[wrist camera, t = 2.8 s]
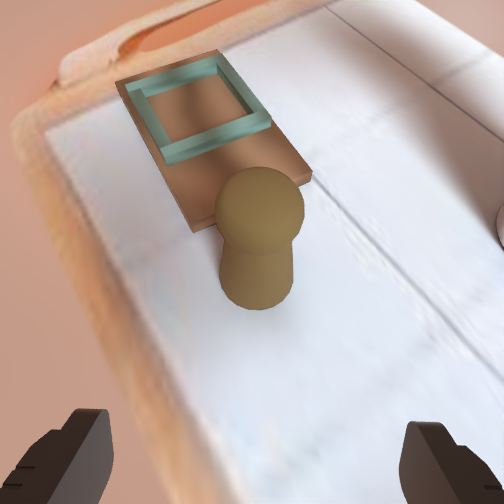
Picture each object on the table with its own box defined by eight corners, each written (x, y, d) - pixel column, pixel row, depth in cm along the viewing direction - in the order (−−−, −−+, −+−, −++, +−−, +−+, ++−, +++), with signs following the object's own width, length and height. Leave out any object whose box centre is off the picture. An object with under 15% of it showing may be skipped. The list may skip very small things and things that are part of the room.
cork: (229, 236, 30) (219, 142, 20) (298, 249, 29) (323, 159, 20) (210, 301, 27) (189, 229, 17) (286, 317, 27) (308, 252, 17)
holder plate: (218, 61, 41) (216, 38, 38) (310, 181, 33) (314, 161, 30) (119, 94, 38) (110, 71, 36) (193, 233, 30) (188, 216, 28)
